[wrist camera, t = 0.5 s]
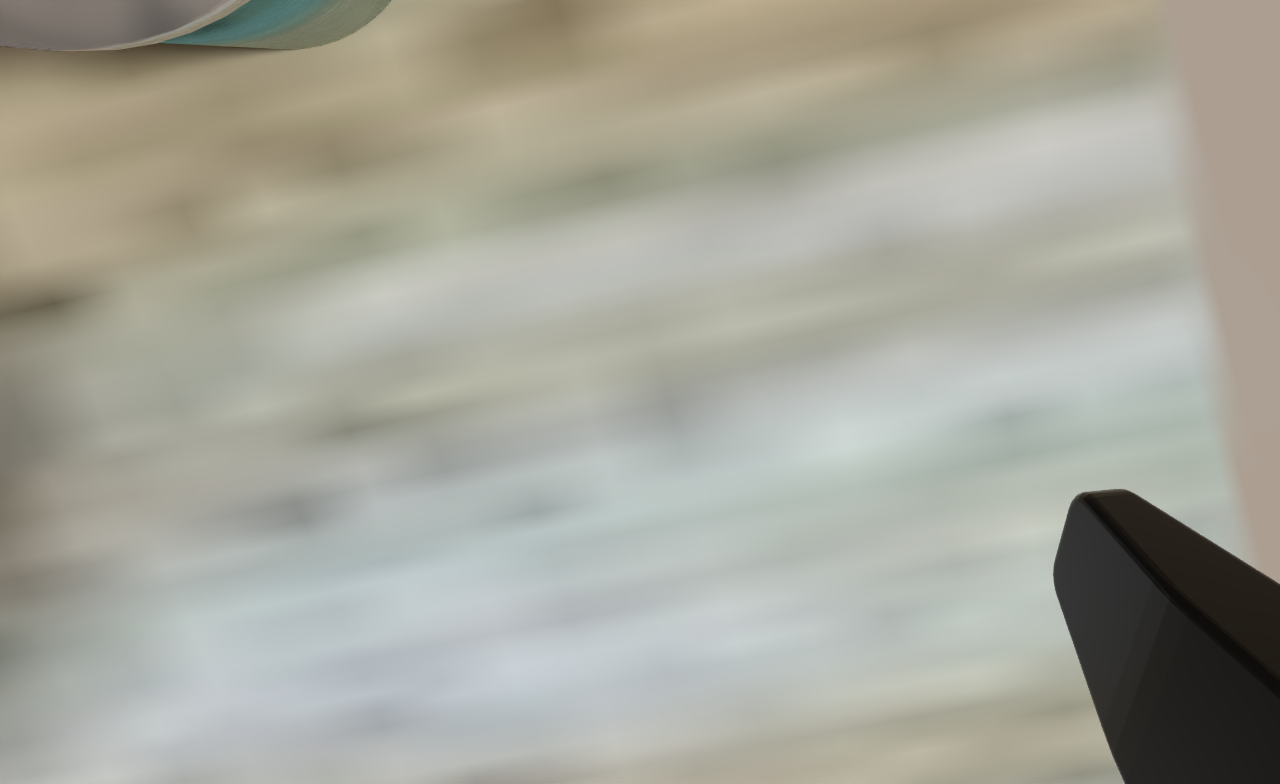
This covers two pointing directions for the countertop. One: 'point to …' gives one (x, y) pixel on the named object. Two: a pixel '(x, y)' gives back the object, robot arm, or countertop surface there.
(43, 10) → the tin
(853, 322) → the countertop surface
